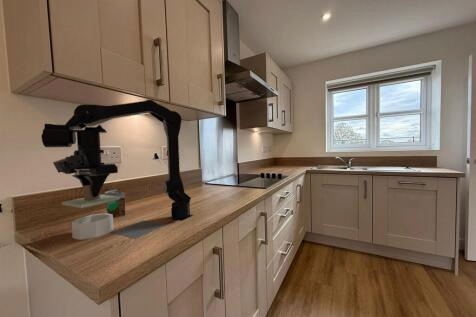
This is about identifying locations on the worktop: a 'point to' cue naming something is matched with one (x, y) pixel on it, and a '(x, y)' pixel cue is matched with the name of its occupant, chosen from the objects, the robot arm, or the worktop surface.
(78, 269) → the worktop surface
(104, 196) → the lid
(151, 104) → the robot arm
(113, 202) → the food container
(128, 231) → the mat
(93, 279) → the worktop surface
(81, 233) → the bowl
